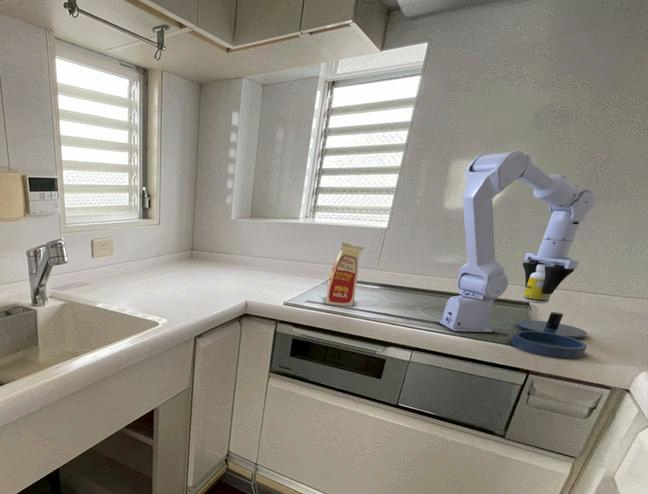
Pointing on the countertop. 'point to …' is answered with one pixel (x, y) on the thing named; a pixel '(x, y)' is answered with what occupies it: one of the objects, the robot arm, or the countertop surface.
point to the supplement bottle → (536, 286)
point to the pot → (549, 344)
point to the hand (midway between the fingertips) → (538, 291)
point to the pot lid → (553, 326)
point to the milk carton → (344, 276)
